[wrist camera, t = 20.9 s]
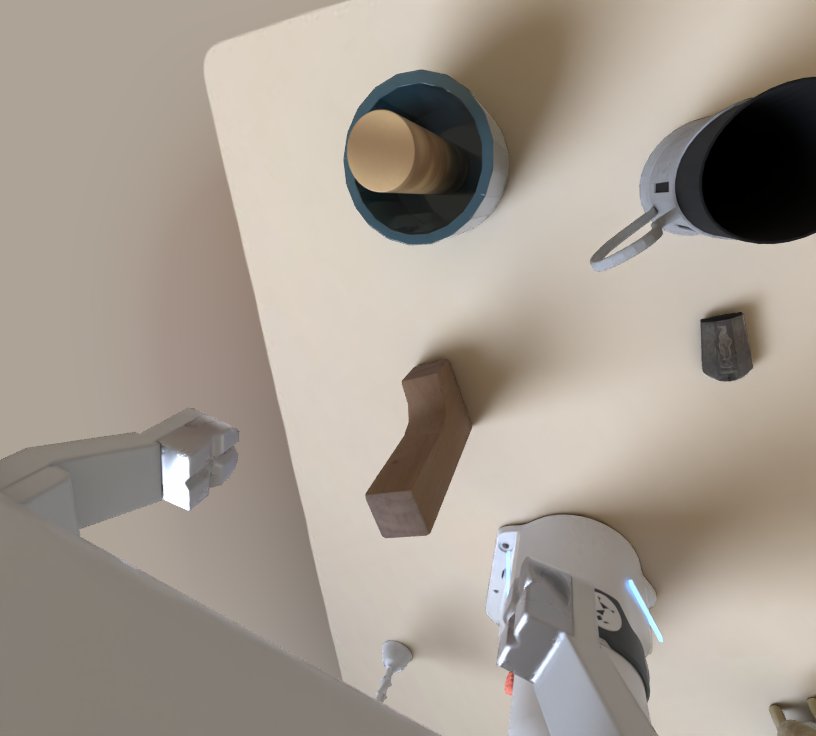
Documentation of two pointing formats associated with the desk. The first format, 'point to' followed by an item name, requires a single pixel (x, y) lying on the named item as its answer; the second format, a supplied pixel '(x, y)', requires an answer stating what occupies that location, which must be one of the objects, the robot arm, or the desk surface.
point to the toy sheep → (794, 722)
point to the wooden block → (421, 454)
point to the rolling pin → (403, 156)
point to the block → (725, 347)
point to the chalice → (392, 664)
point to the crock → (454, 121)
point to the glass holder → (732, 175)
